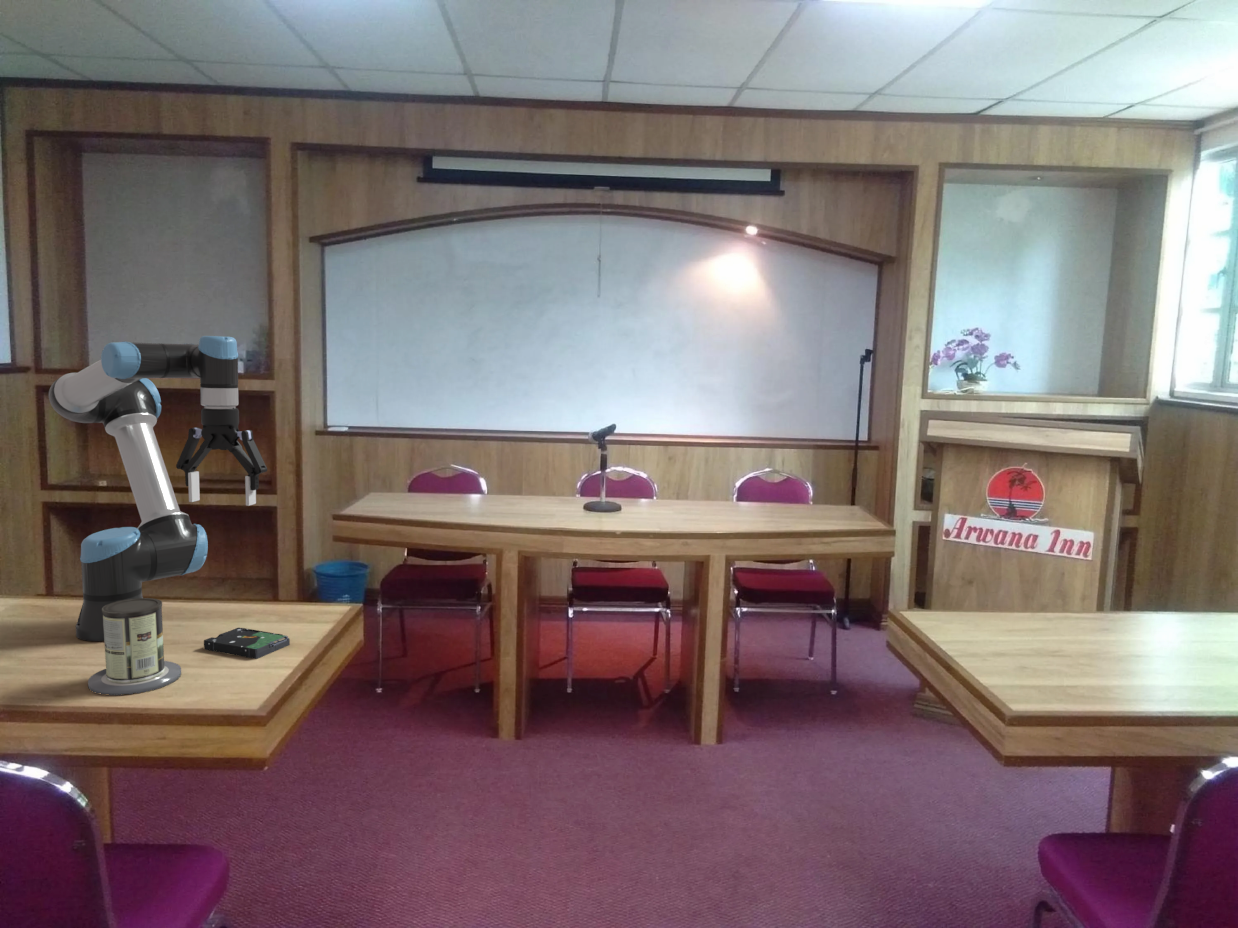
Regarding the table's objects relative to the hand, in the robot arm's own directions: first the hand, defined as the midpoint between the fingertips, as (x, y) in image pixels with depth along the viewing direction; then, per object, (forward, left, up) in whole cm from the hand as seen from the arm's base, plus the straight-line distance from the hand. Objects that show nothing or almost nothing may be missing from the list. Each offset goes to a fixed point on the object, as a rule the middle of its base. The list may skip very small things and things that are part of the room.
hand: (222, 503), depth 188 cm
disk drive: (+7, -3, -32) cm, 33 cm away
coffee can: (-3, -25, -31) cm, 40 cm away
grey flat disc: (-3, -25, -31) cm, 40 cm away
